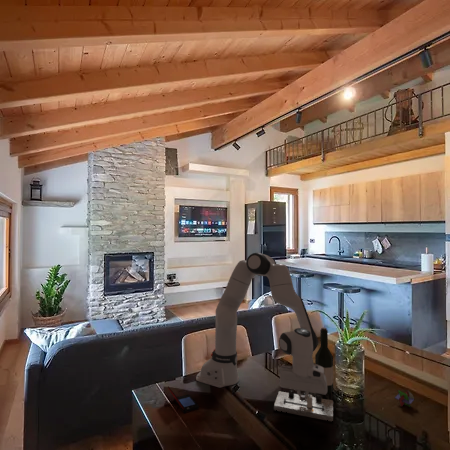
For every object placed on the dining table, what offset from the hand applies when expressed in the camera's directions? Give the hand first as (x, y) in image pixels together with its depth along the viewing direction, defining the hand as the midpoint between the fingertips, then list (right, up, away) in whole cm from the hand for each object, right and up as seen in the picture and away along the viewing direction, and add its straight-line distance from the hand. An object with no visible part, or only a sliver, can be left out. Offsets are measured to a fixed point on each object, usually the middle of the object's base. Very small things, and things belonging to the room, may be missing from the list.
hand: (303, 400), depth 133 cm
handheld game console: (-52, -4, +3) cm, 53 cm away
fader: (+3, -2, -1) cm, 3 cm away
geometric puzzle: (+46, -5, +4) cm, 46 cm away
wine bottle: (+15, -5, +17) cm, 23 cm away
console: (+1, -4, +2) cm, 4 cm away
